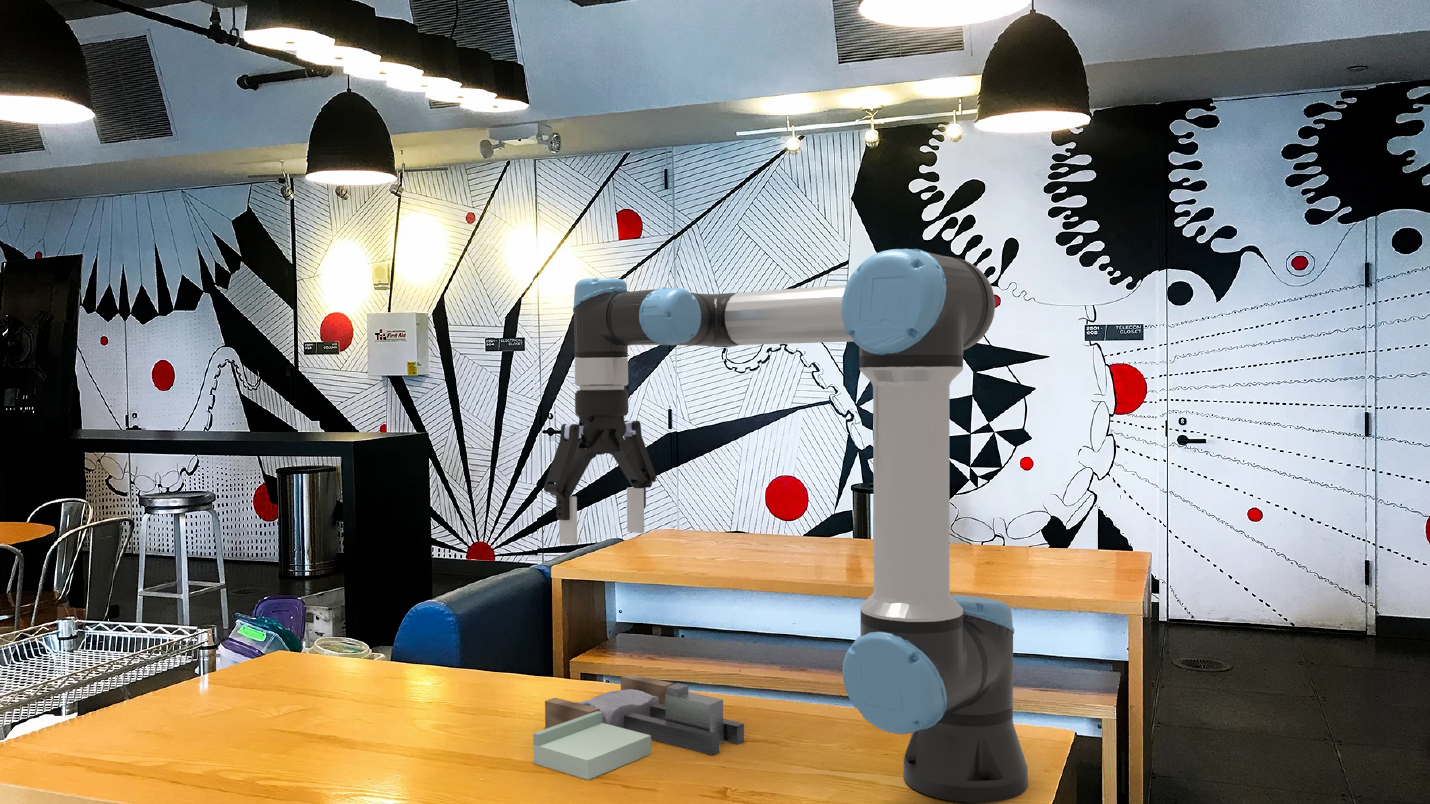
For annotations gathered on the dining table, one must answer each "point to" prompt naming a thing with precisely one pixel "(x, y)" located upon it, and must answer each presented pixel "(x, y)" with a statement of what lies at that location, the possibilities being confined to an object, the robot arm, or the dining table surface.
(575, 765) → the pale green ledge block
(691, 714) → the grey metal block
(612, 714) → the stone block
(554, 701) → the brown piece
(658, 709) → the guide
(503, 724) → the dining table surface
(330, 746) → the dining table surface
